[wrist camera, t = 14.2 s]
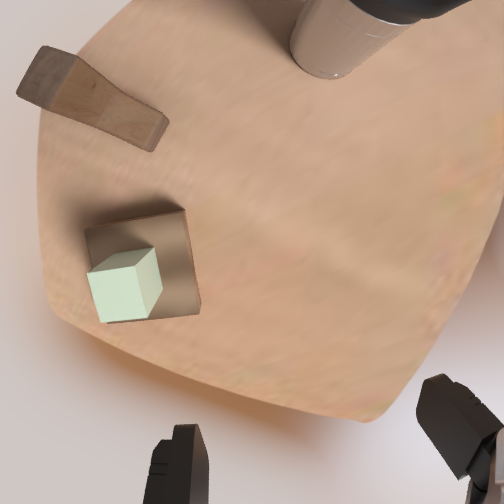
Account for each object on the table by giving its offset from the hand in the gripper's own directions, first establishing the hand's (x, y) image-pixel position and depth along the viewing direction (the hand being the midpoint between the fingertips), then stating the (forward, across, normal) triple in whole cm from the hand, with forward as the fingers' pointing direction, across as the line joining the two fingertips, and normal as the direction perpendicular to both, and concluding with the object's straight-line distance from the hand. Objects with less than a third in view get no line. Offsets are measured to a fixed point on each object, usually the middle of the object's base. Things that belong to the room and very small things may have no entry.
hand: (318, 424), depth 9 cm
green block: (+26, +14, +1) cm, 30 cm away
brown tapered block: (+30, +13, +2) cm, 33 cm away
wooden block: (+30, +13, -16) cm, 37 cm away
